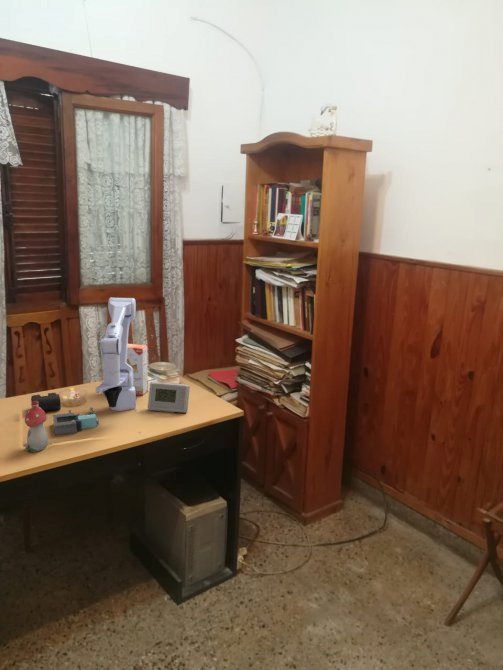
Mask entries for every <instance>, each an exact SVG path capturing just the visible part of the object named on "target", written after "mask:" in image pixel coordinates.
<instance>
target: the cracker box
mask: <svg viewBox="0 0 503 670" xmlns="http://www.w3.org/2000/svg"><path fill="white" fill-rule="evenodd" d="M127 364H128V365H130V366H131V367H132V368H133V376H134V379H133V386H132V387H134V388H135V392H136V396H144V395H145V394H146V393H147V392H148V391H149V390H148V389H149V388H148V385H149V384H148V381H149V380H148V376H149V375H148V345H146V344H134V343H128V348H127ZM127 372H129V371H127ZM147 390H148V391H147Z"/></svg>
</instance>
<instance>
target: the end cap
mask: <svg viewBox="0 0 503 670" xmlns="http://www.w3.org/2000/svg"><path fill="white" fill-rule="evenodd" d="M33 401H38V402H39V405H38V406H39V407H40V408H41V409H43V411H44V412H45V413H46V412H52V411H60V410H61V408H62V403H61V397H60V394H59V393H58V394H57V393H56V392H49V393H47V395H41V394H32V395H31V397H30V403H31V405H30V406H31V408H32V407H33V406H32V402H33Z"/></svg>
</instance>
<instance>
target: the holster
mask: <svg viewBox="0 0 503 670" xmlns="http://www.w3.org/2000/svg"><path fill="white" fill-rule="evenodd" d="M89 410H90V411H89V412H90V415H91V414H95V412H94V411H95V410H94V408H93V407H90V408H89ZM68 413H72V410H71V409H68Z"/></svg>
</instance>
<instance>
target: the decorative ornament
mask: <svg viewBox="0 0 503 670" xmlns="http://www.w3.org/2000/svg"><path fill="white" fill-rule="evenodd" d="M38 405H39V402H38V401H33V402H32V406H33V407H32V406H31V407H30V409H29V410H28V411H27V412H26V413H25V416H24V423H25V424H26V426H27V427H29V428H28V431H27V435H26V443H25V446H24V447H25V448H24V449H25V450H26V451H27V452H29V453H38V452H40V451H42V450H45V449H46V447H47V445H48V441H49V437H48V436H49V435H48V433H47V429H46V427H45V425H44V423H45V422H46V421H47V419H48V417H47V414H46V412H44V411H43V409H41V408H40V407H39V406H38Z"/></svg>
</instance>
